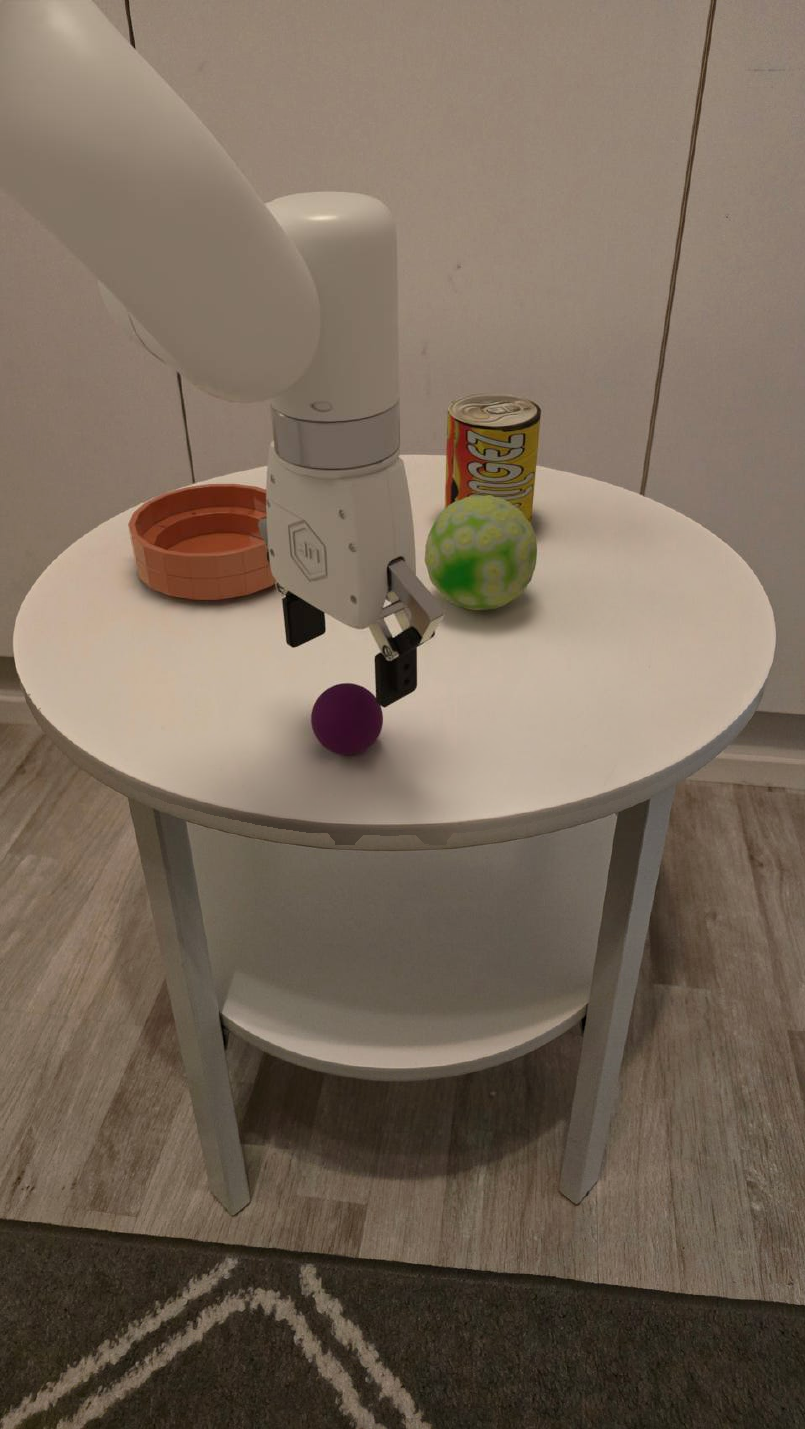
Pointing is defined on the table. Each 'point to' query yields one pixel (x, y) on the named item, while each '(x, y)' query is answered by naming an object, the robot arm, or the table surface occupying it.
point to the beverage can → (492, 449)
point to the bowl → (202, 542)
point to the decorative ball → (481, 552)
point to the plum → (346, 719)
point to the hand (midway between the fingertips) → (349, 667)
